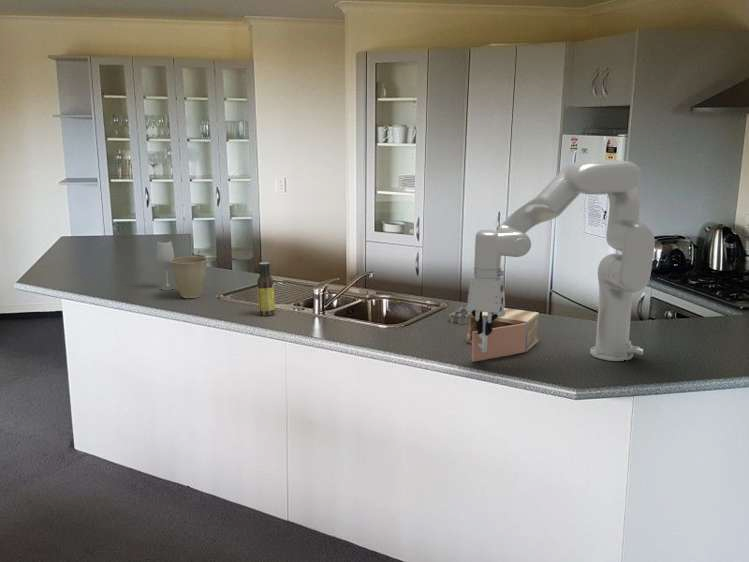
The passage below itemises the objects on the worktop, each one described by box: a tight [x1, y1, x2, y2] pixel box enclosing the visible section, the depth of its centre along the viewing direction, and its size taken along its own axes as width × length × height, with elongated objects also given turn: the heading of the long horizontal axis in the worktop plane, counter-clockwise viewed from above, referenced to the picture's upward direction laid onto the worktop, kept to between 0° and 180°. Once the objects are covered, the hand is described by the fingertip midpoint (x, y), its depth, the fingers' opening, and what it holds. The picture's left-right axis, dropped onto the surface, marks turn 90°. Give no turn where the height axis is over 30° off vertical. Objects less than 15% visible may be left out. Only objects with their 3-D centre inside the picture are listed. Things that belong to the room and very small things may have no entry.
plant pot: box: [170, 256, 208, 297], centre depth 291 cm, size 15×15×16 cm
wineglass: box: [155, 240, 175, 286], centre depth 306 cm, size 8×8×21 cm
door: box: [471, 315, 528, 362], centre depth 213 cm, size 20×4×15 cm, turn 116°
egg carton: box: [448, 305, 469, 325], centre depth 256 cm, size 11×8×4 cm
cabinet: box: [466, 307, 540, 352], centre depth 229 cm, size 20×12×10 cm, turn 60°
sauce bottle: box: [256, 261, 276, 317], centre depth 264 cm, size 6×6×20 cm
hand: (484, 333), depth 207 cm, fingers closed on door
